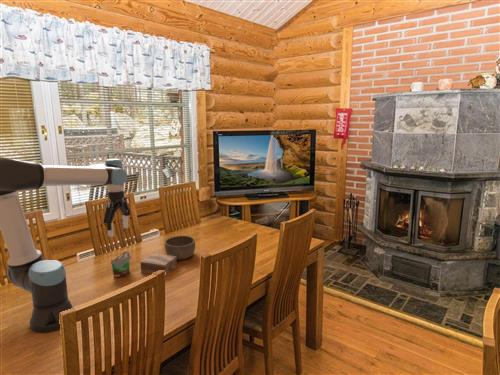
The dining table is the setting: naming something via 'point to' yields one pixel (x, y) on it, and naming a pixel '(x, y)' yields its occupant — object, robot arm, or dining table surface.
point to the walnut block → (158, 263)
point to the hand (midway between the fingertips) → (118, 232)
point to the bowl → (180, 246)
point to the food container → (121, 265)
